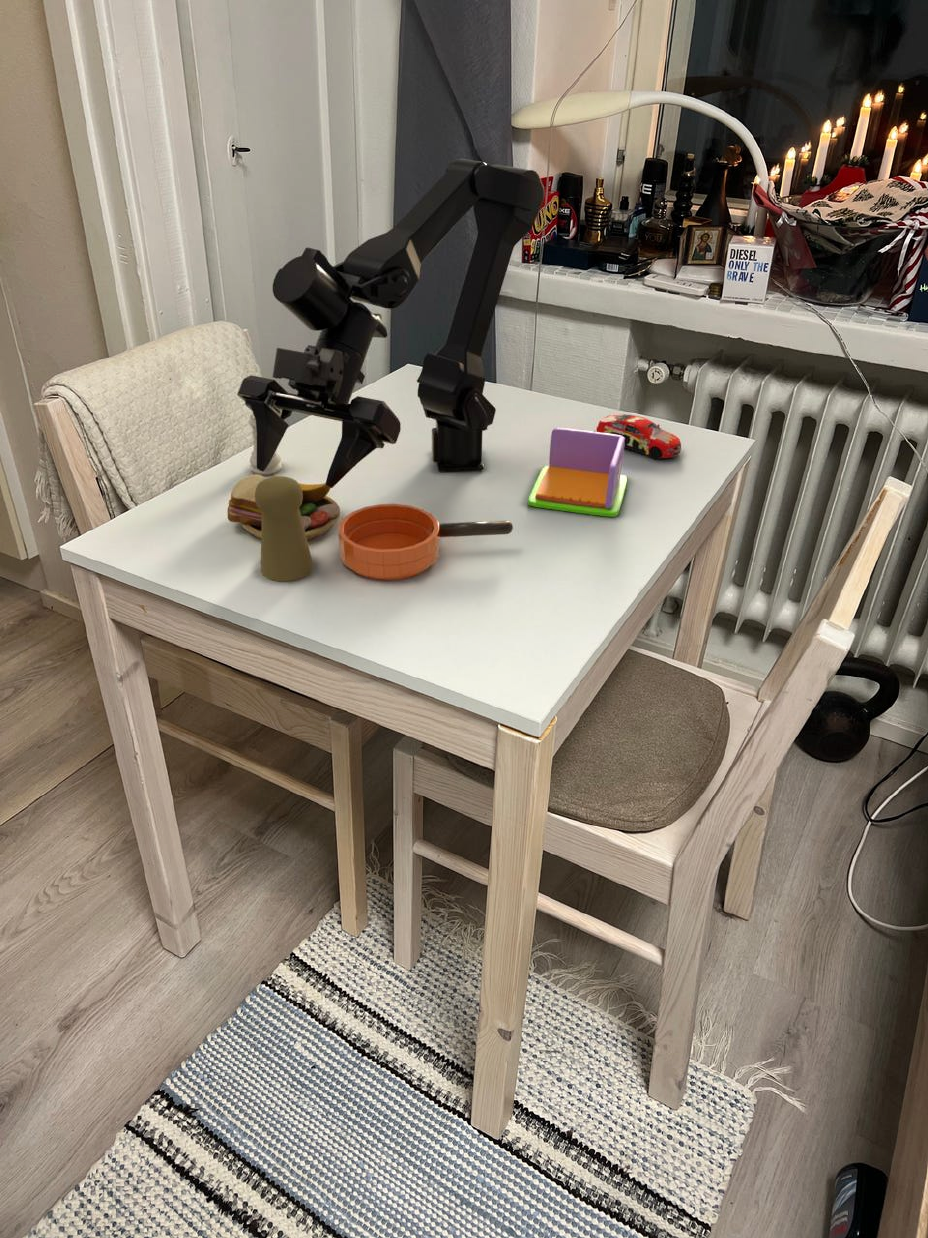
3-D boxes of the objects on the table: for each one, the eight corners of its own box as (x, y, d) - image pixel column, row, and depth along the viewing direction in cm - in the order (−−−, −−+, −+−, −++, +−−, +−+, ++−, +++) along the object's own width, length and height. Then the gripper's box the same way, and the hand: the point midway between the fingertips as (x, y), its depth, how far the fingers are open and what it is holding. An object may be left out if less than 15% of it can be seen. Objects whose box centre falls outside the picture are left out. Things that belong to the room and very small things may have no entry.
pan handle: (511, 529, 109) (512, 517, 109) (513, 536, 108) (514, 524, 107) (431, 533, 109) (431, 521, 108) (432, 540, 107) (432, 527, 106)
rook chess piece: (286, 463, 130) (280, 409, 125) (277, 477, 126) (271, 421, 121) (255, 461, 130) (248, 407, 125) (246, 475, 126) (238, 420, 122)
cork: (322, 559, 108) (314, 474, 102) (298, 585, 103) (288, 497, 97) (276, 550, 109) (266, 466, 103) (250, 575, 105) (238, 488, 98)
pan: (434, 530, 114) (434, 501, 112) (443, 579, 105) (443, 549, 102) (340, 534, 113) (338, 505, 111) (341, 584, 103) (338, 554, 101)
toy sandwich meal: (312, 554, 109) (308, 518, 106) (213, 534, 113) (208, 499, 110) (357, 508, 119) (355, 474, 116) (265, 491, 122) (261, 458, 120)
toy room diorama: (628, 479, 127) (634, 432, 123) (617, 518, 117) (623, 469, 113) (543, 468, 129) (546, 422, 125) (525, 506, 120) (528, 457, 116)
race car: (686, 453, 134) (691, 427, 132) (667, 465, 131) (672, 439, 129) (610, 429, 141) (613, 404, 139) (590, 439, 138) (593, 414, 135)
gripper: (236, 303, 101) (186, 432, 99) (384, 327, 94) (334, 466, 92) (284, 353, 111) (240, 472, 109) (421, 378, 105) (376, 505, 103)
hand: (293, 478), depth 103 cm, fingers open, 9 cm apart
